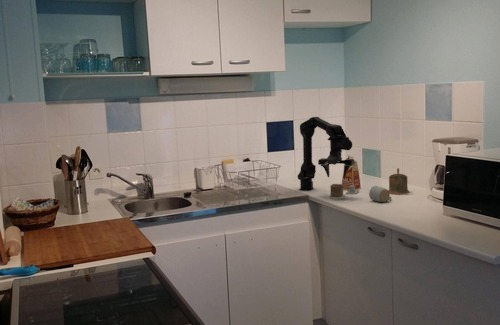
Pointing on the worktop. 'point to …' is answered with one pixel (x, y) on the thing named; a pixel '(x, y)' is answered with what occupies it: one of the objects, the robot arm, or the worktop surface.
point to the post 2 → (352, 190)
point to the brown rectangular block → (336, 190)
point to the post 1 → (337, 197)
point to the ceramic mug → (379, 194)
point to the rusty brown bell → (398, 184)
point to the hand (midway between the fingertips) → (336, 177)
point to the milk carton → (352, 177)
